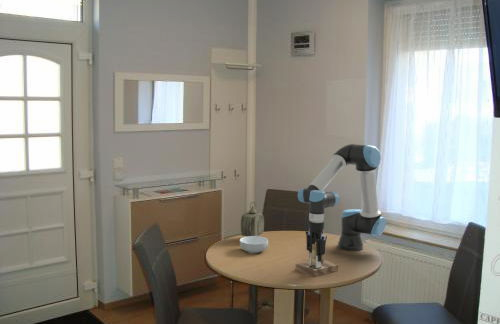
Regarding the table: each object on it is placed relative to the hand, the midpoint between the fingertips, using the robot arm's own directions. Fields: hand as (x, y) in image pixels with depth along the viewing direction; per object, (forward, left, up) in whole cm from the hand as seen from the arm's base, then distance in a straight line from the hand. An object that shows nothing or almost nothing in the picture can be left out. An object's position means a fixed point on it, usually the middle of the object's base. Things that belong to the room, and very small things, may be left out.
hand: (315, 266), depth 255 cm
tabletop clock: (-8, -66, -4) cm, 67 cm away
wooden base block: (-4, -3, -4) cm, 6 cm away
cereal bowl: (+4, -48, -4) cm, 48 cm away
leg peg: (0, 0, -3) cm, 3 cm away
